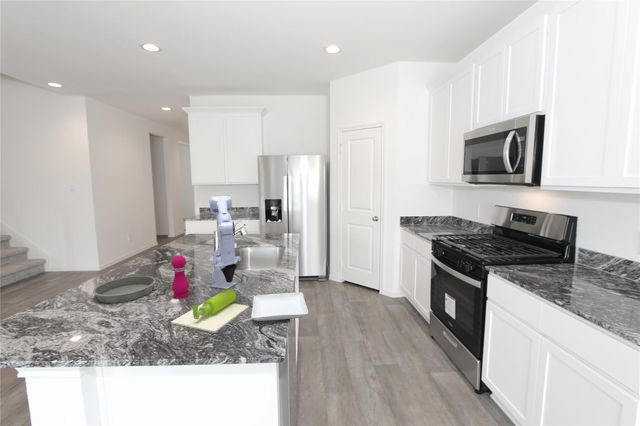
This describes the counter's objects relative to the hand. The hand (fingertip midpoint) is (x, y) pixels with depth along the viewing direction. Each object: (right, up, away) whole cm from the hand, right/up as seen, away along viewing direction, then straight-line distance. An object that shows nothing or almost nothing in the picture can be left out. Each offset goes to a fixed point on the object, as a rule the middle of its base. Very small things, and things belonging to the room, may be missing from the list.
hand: (229, 281), depth 128 cm
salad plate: (+22, -11, -6) cm, 25 cm away
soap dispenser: (0, -5, +1) cm, 5 cm away
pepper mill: (-25, -9, +9) cm, 28 cm away
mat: (-4, -11, -9) cm, 15 cm away
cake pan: (-52, -9, +13) cm, 54 cm away
